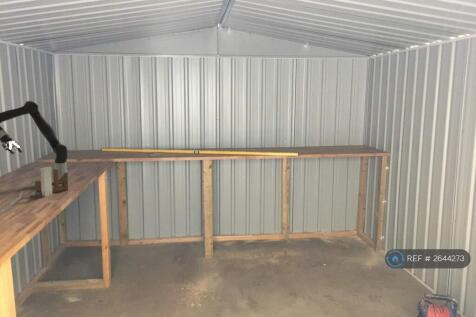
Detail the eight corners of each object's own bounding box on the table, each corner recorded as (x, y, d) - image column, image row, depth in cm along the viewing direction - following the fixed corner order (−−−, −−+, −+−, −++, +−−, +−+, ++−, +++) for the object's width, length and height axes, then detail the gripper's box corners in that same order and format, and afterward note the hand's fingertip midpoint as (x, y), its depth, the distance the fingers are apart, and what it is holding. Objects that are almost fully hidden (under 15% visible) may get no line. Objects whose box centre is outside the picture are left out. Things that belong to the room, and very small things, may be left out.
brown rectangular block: (39, 192, 321) (38, 180, 319) (46, 193, 319) (45, 180, 318) (35, 194, 317) (35, 181, 315) (42, 194, 315) (42, 181, 314)
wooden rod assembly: (68, 190, 335) (67, 168, 332) (55, 192, 327) (54, 169, 324) (66, 189, 338) (65, 167, 335) (52, 191, 329) (52, 169, 327)
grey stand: (39, 192, 324) (37, 165, 321) (54, 193, 322) (53, 166, 318) (29, 195, 314) (27, 168, 310) (44, 197, 311) (43, 169, 308)
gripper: (-1, 134, 313) (13, 150, 312) (13, 133, 327) (27, 148, 326) (-7, 141, 315) (8, 157, 314) (7, 139, 329) (21, 154, 328)
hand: (17, 152), depth 320 cm, fingers open, 8 cm apart
